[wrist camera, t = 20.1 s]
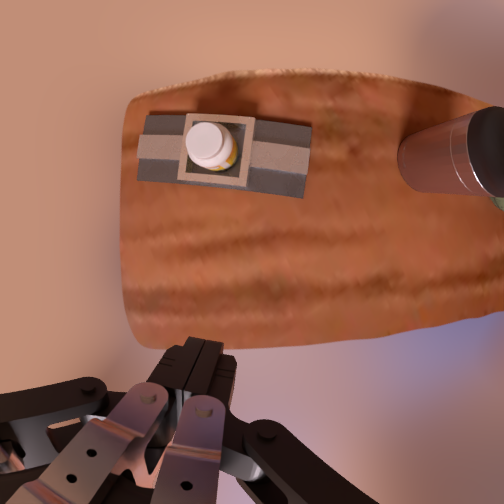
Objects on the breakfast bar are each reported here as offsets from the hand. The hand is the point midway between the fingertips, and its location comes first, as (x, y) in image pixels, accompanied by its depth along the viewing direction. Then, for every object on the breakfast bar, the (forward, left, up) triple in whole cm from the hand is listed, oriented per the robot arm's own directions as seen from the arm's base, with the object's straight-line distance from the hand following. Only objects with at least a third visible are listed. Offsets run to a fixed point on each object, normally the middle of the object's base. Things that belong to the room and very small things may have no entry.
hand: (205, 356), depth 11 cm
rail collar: (+6, -12, -29) cm, 32 cm away
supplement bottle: (+6, -12, -28) cm, 31 cm away
